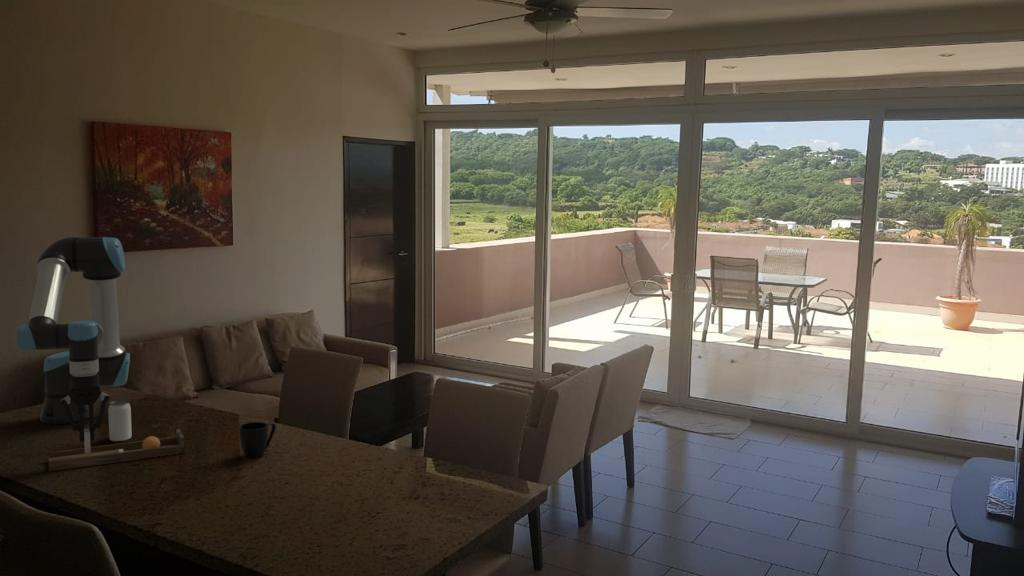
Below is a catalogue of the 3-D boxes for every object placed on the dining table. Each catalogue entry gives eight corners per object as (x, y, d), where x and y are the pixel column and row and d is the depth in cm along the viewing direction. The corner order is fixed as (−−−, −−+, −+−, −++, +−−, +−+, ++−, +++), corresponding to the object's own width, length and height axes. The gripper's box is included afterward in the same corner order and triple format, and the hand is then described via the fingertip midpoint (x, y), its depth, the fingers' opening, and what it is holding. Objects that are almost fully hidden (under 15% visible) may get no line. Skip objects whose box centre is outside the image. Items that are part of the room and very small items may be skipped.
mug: (283, 452, 245) (283, 422, 244) (251, 462, 235) (250, 431, 234) (267, 446, 250) (266, 417, 248) (234, 456, 240) (233, 426, 239)
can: (125, 442, 251) (124, 405, 249) (105, 441, 251) (104, 405, 250) (135, 436, 257) (134, 400, 256) (115, 435, 257) (114, 399, 256)
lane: (48, 460, 232) (48, 444, 231) (179, 444, 250) (179, 428, 250) (48, 471, 223) (48, 454, 223) (184, 453, 242) (184, 437, 241)
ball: (156, 431, 243) (162, 445, 244) (139, 438, 241) (145, 452, 242) (157, 436, 239) (163, 450, 240) (140, 443, 237) (146, 457, 238)
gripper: (59, 378, 223) (62, 458, 226) (110, 374, 230) (113, 452, 233) (58, 373, 230) (62, 451, 232) (108, 369, 236) (111, 445, 239)
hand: (87, 451), depth 232 cm, fingers closed
